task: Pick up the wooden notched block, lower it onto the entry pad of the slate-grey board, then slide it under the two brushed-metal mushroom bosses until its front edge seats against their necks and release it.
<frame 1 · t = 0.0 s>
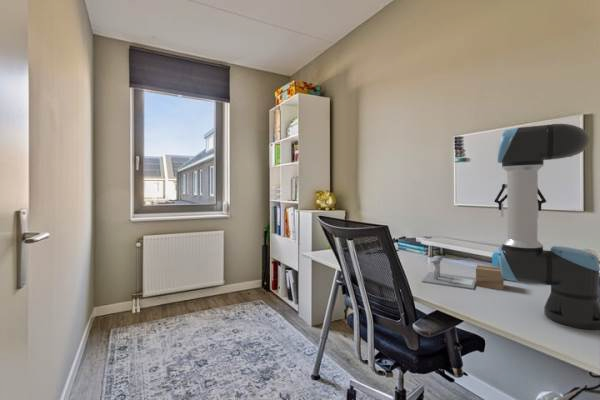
hand: (519, 217, 146), 28 cm above the table, fingers open, 13 cm apart
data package: (507, 278, 143), on the table
boss board: (449, 280, 142), on the table
wooden notched block: (489, 285, 133), on the table
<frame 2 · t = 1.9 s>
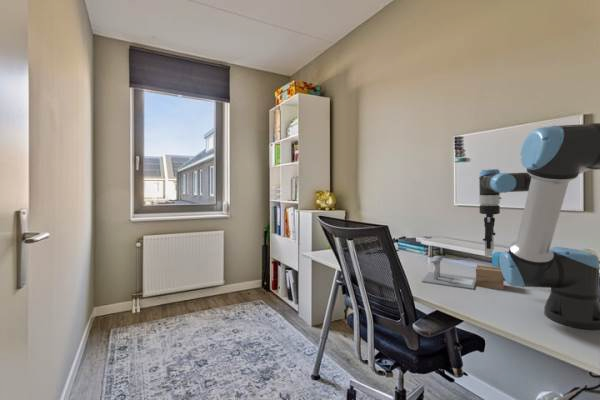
hand: (489, 252, 133), 15 cm above the table, fingers open, 13 cm apart
nothing on the table moved.
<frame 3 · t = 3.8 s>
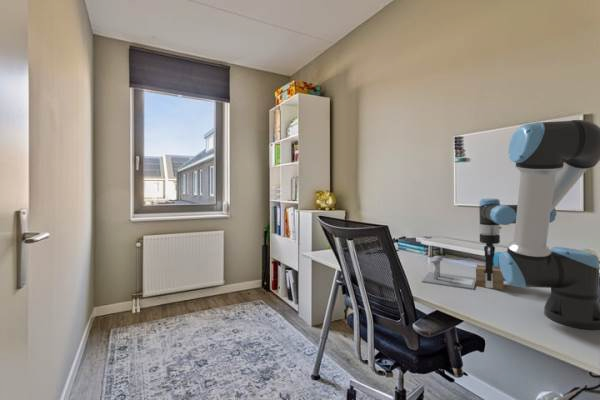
hand: (489, 284, 133), 0 cm above the table, fingers closed on wooden notched block, 7 cm apart
wooden notched block: (489, 285, 133), on the table, touching gripper
everything else where it was.
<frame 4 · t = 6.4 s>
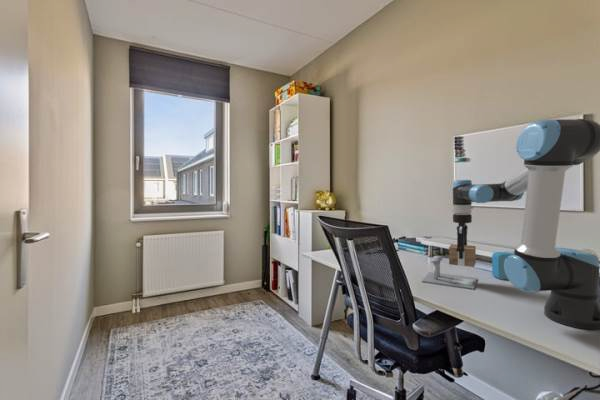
hand: (462, 263, 138), 9 cm above the table, fingers closed on wooden notched block, 7 cm apart
wooden notched block: (462, 263, 138), point 9 cm above the table, touching gripper
everything else where it was.
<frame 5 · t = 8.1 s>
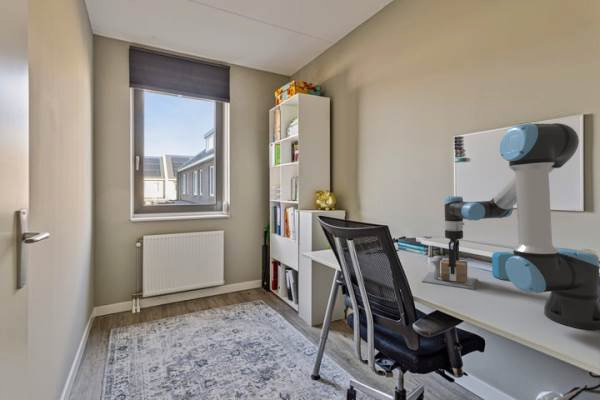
hand: (454, 278, 140), 1 cm above the table, fingers closed on wooden notched block, 7 cm apart
wooden notched block: (454, 278, 140), point 1 cm above the table, touching gripper
everything else where it was.
when the fingers open (1 cm above the table, at t = 8.7 s): wooden notched block stays where it is, resting on boss board.
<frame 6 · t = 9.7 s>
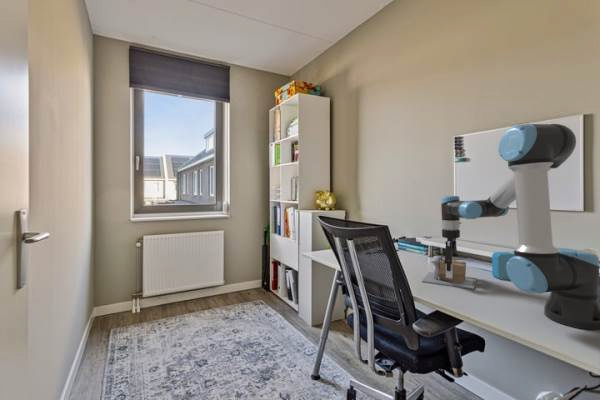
hand: (451, 273, 141), 3 cm above the table, fingers open, 13 cm apart
wooden notched block: (452, 279, 141), point 1 cm above the table, touching boss board
everything else where it was.
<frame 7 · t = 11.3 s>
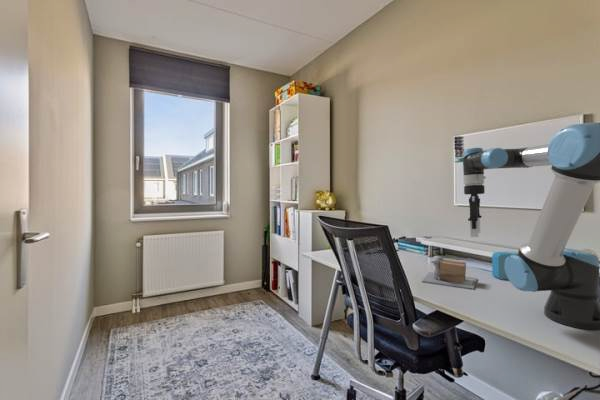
hand: (475, 234, 128), 24 cm above the table, fingers open, 13 cm apart
nothing on the table moved.
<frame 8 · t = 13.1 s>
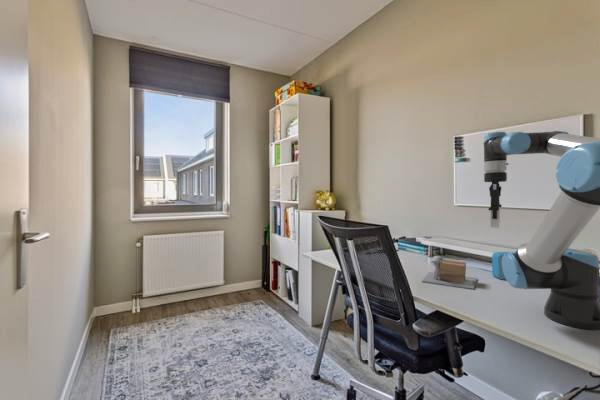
hand: (495, 225, 120), 29 cm above the table, fingers open, 13 cm apart
nothing on the table moved.
at the end: wooden notched block 0.6 cm off-centre on the boss board, point 0.9 cm above the boss board's base; wooden notched block tilted 3°; the gripper is holding nothing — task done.
